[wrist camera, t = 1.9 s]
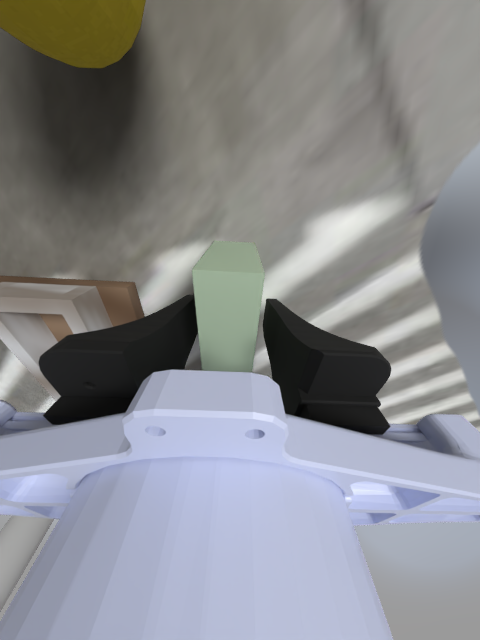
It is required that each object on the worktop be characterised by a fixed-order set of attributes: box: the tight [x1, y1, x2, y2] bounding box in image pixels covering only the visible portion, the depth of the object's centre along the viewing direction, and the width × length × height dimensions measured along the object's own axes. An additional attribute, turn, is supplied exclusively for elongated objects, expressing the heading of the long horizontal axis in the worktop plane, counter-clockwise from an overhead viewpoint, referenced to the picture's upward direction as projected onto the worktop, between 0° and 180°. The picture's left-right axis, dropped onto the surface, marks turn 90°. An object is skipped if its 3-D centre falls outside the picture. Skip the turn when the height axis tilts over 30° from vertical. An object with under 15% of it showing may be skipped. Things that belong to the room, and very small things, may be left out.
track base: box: [0, 276, 144, 401], centre depth 15 cm, size 16×10×3 cm, turn 177°
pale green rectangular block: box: [192, 241, 265, 373], centre depth 11 cm, size 8×2×6 cm, turn 177°
